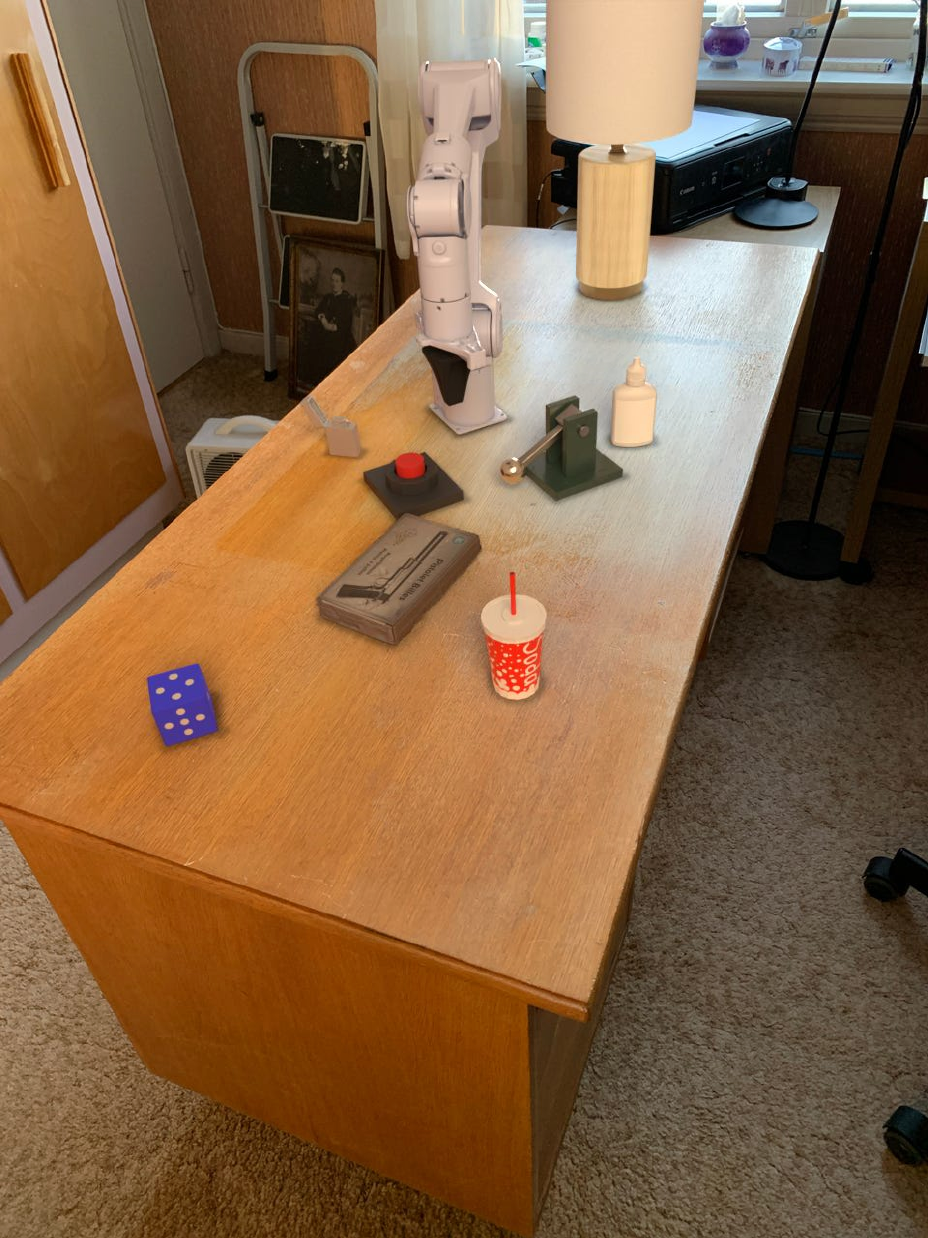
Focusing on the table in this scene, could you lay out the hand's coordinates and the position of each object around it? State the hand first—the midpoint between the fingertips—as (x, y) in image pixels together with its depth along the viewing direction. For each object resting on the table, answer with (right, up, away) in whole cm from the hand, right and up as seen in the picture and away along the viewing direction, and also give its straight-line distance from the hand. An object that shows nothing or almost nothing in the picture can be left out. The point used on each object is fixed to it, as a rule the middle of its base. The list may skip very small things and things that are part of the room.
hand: (453, 402), depth 112 cm
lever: (+12, -6, +2) cm, 13 cm away
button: (-5, -8, +3) cm, 10 cm away
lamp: (+27, +32, +49) cm, 64 cm away
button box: (-5, -10, +5) cm, 12 cm away
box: (-5, -23, -10) cm, 26 cm away
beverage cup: (+6, -33, -22) cm, 40 cm away
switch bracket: (+15, -8, +6) cm, 18 cm away
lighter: (-16, -4, +13) cm, 21 cm away
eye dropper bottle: (+24, -3, +10) cm, 26 cm away
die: (-26, -37, -23) cm, 50 cm away
